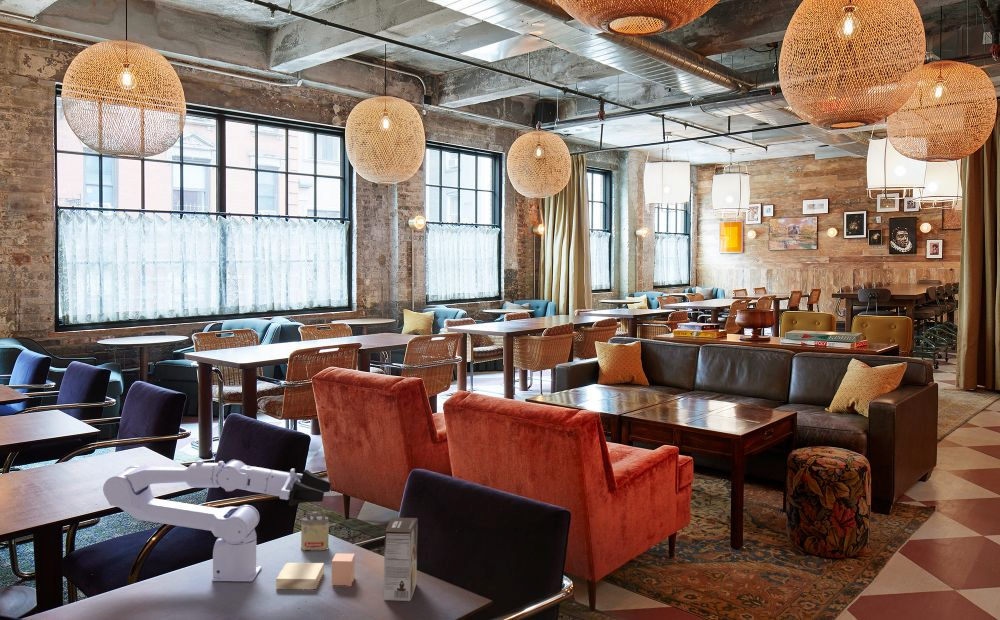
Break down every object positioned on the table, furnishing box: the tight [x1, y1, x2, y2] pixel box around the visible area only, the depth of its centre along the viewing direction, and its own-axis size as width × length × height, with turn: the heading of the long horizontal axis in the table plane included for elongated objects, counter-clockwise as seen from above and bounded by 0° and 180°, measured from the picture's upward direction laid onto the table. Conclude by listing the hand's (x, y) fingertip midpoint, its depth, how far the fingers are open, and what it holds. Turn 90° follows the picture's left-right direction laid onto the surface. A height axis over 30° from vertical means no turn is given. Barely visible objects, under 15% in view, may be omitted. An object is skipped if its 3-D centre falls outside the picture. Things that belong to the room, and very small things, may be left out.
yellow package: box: [300, 509, 330, 551], centre depth 193 cm, size 7×4×10 cm, turn 97°
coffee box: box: [383, 517, 419, 602], centre depth 169 cm, size 9×6×16 cm
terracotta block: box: [331, 553, 356, 587], centre depth 174 cm, size 4×4×6 cm
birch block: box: [275, 562, 325, 591], centre depth 173 cm, size 9×9×3 cm
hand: (326, 492), depth 175 cm, fingers open, 7 cm apart
